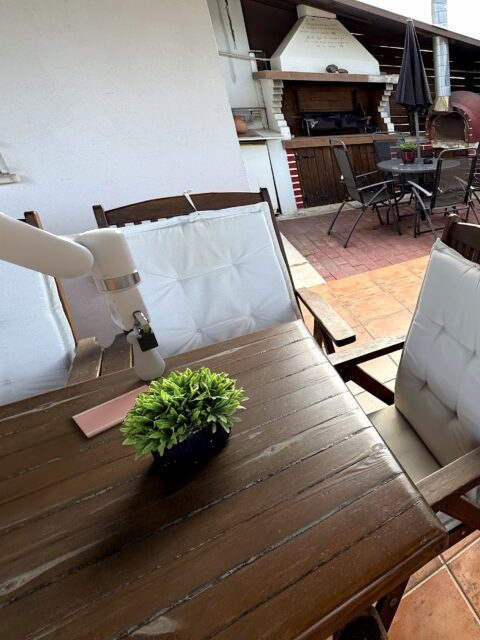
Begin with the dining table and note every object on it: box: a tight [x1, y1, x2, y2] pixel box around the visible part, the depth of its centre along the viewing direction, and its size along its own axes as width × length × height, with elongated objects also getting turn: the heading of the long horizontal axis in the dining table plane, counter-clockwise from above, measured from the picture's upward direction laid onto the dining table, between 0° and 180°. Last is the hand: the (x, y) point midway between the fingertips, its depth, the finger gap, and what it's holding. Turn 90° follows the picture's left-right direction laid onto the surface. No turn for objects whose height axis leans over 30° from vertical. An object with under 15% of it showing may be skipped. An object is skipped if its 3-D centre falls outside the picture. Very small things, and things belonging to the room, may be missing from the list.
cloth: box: [72, 384, 149, 439], centre depth 91 cm, size 13×11×1 cm
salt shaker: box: [126, 329, 166, 381], centre depth 100 cm, size 6×6×13 cm
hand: (142, 343), depth 100 cm, fingers open, 9 cm apart
